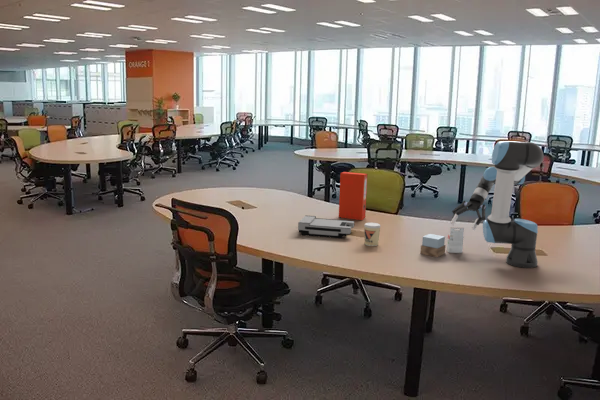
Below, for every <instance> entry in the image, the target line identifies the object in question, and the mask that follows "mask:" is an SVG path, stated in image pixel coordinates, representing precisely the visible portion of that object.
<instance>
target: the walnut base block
mask: <svg viewBox="0 0 600 400" xmlns="http://www.w3.org/2000/svg"><path fill="white" fill-rule="evenodd" d="M446 247H447V244H444V246H442V247H440V248H438V249H437V248H432V247H427V246H423V245H422V244H421V245H420V254H421V255H424V256H429V257H434V258H439V257H441V256H443V255H444V254H446Z"/></svg>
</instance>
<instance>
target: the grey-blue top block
mask: <svg viewBox="0 0 600 400" xmlns="http://www.w3.org/2000/svg"><path fill="white" fill-rule="evenodd" d="M445 240H446V236H444V235H439V234H434V233H428V234H425V235H424V236H422V240H421V241H422V243H421V245H423V246H427V247H432V248H437V249H438V248H440V247H442V246H444V245H445V243H446V241H445Z"/></svg>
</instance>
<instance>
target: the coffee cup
mask: <svg viewBox="0 0 600 400" xmlns="http://www.w3.org/2000/svg"><path fill="white" fill-rule="evenodd" d="M363 226H364V230H363V231H364V245H365V246H369V247H376V246H378V245H379V241H380V232H381V224H380V223H378V222H366V223H364V225H363Z"/></svg>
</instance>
